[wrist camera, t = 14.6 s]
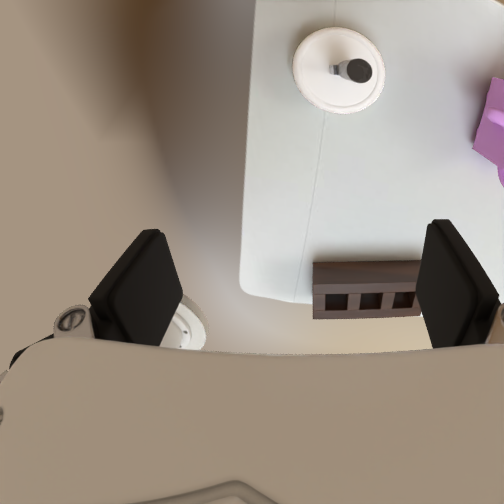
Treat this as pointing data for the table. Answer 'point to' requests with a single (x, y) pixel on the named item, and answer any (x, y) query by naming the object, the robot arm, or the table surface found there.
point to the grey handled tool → (353, 70)
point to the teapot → (493, 127)
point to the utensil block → (365, 289)
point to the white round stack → (333, 86)
